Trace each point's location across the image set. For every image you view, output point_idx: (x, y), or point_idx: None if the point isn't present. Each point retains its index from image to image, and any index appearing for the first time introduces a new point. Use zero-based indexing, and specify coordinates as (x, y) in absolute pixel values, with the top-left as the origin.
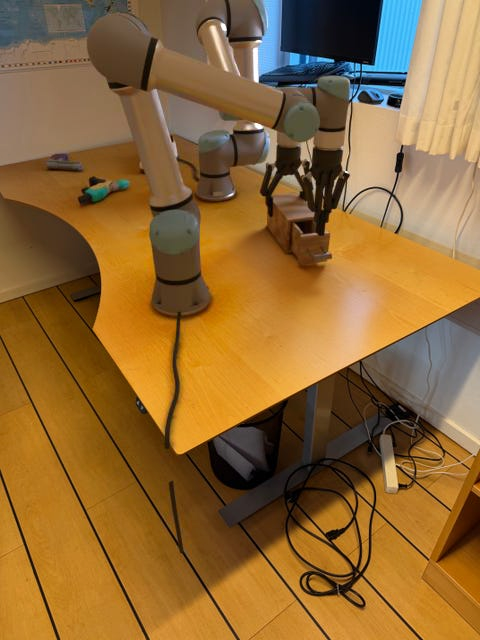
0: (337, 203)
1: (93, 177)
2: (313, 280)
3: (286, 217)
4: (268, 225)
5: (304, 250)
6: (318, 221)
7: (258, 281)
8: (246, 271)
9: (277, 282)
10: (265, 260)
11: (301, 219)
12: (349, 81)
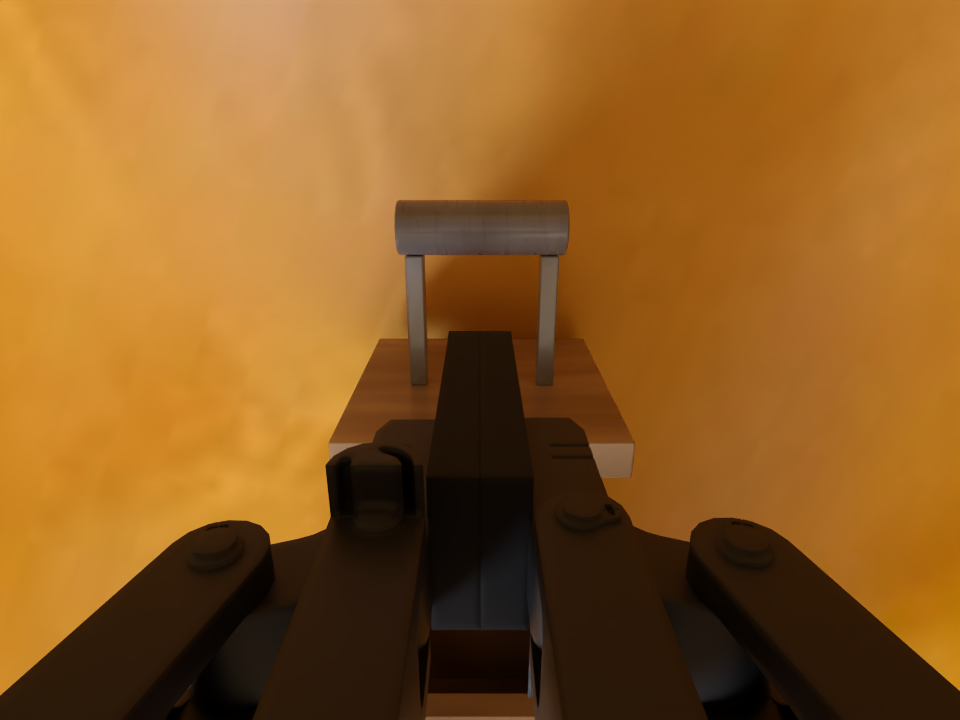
0: (116, 614)
1: None
2: (550, 156)
3: None
4: None
5: (568, 380)
6: (540, 434)
7: (900, 248)
8: (905, 384)
9: (792, 200)
10: (733, 473)
11: (503, 706)
12: None
